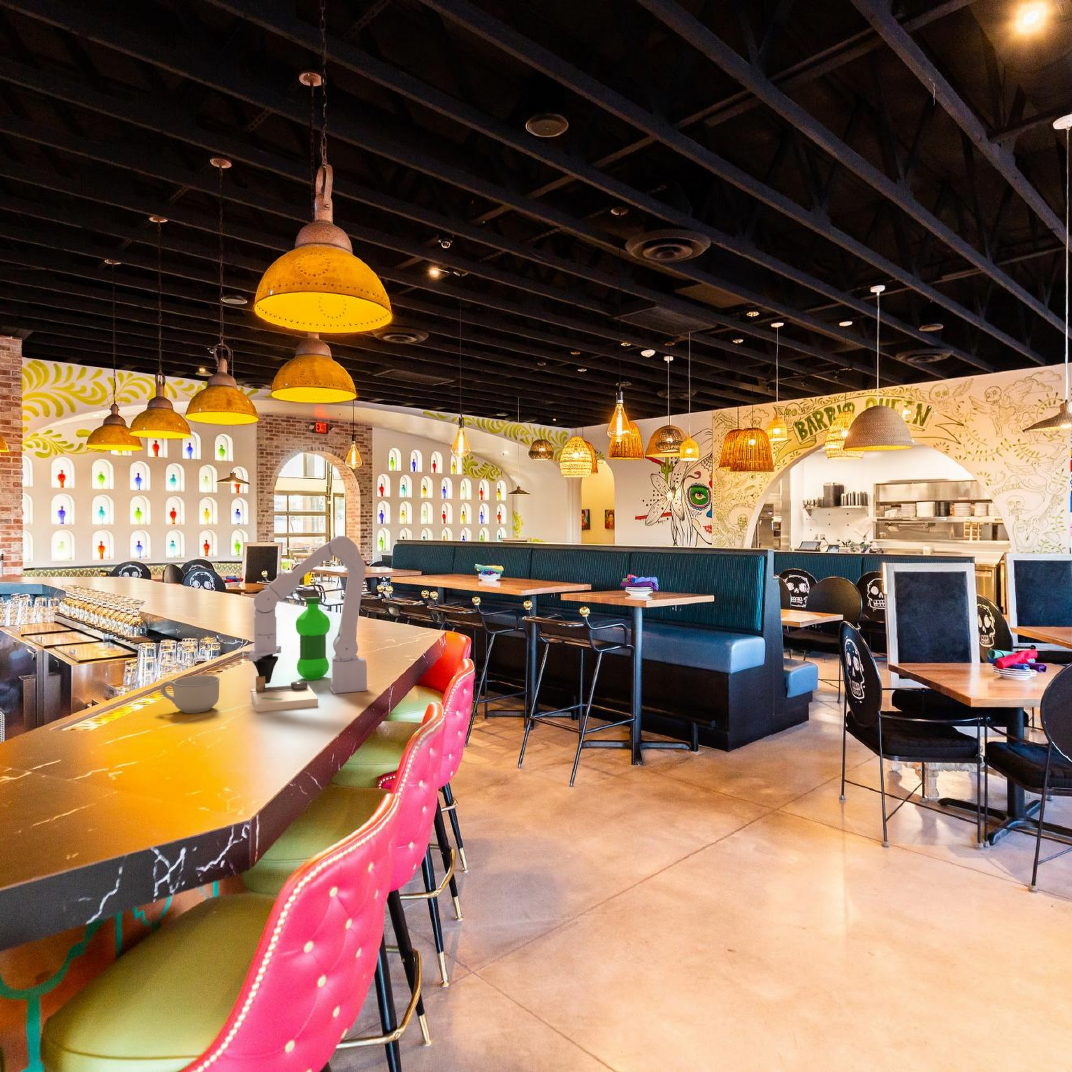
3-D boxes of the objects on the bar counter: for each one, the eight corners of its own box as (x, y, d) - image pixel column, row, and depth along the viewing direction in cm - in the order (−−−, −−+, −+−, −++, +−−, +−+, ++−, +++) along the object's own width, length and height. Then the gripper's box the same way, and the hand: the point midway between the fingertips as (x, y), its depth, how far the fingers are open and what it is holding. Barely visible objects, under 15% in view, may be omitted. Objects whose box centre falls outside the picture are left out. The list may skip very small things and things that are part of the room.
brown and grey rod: (306, 685, 204) (306, 671, 204) (308, 688, 200) (308, 674, 200) (249, 690, 198) (249, 675, 198) (250, 693, 194) (250, 678, 194)
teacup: (227, 706, 190) (227, 675, 190) (204, 716, 179) (204, 683, 179) (177, 704, 191) (177, 674, 191) (151, 715, 181) (151, 682, 181)
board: (308, 691, 207) (308, 684, 207) (318, 706, 190) (317, 698, 190) (251, 696, 201) (251, 689, 201) (256, 712, 183) (256, 703, 183)
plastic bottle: (288, 680, 223) (288, 598, 223) (308, 674, 233) (308, 595, 233) (317, 682, 220) (317, 599, 220) (336, 676, 230) (336, 596, 230)
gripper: (264, 630, 210) (264, 677, 210) (237, 637, 196) (237, 688, 196) (287, 630, 209) (287, 678, 209) (262, 637, 195) (262, 688, 195)
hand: (265, 683), depth 202 cm, fingers closed
